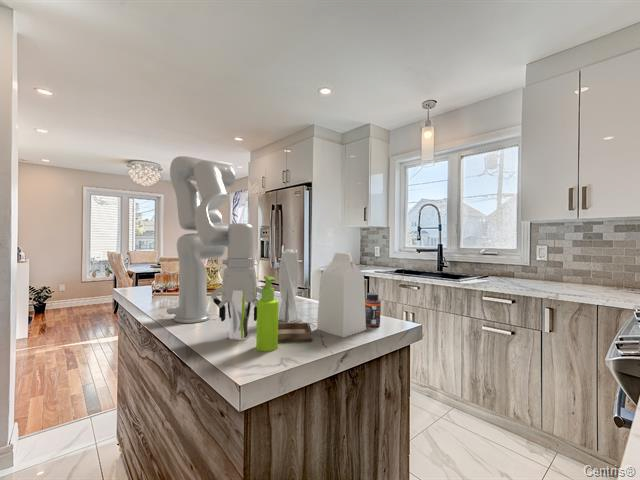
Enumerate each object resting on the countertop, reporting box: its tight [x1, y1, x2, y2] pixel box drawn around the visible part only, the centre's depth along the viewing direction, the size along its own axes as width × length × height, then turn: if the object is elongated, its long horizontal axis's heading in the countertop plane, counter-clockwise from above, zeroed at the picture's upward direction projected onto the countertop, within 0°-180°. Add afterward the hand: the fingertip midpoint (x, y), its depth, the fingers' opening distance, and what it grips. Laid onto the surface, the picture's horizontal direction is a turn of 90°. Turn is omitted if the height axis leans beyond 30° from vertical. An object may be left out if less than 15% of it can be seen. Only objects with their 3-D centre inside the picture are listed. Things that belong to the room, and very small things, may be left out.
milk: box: [316, 252, 367, 338], centre depth 108 cm, size 12×12×26 cm
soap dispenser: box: [255, 275, 280, 352], centre depth 88 cm, size 6×7×20 cm
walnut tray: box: [278, 322, 313, 343], centre depth 100 cm, size 12×12×2 cm
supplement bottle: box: [365, 292, 382, 328], centre depth 114 cm, size 6×6×11 cm
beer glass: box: [227, 290, 252, 342], centre depth 97 cm, size 7×7×15 cm
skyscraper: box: [278, 245, 302, 323], centre depth 118 cm, size 8×8×28 cm
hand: (239, 320), depth 97 cm, fingers open, 9 cm apart
